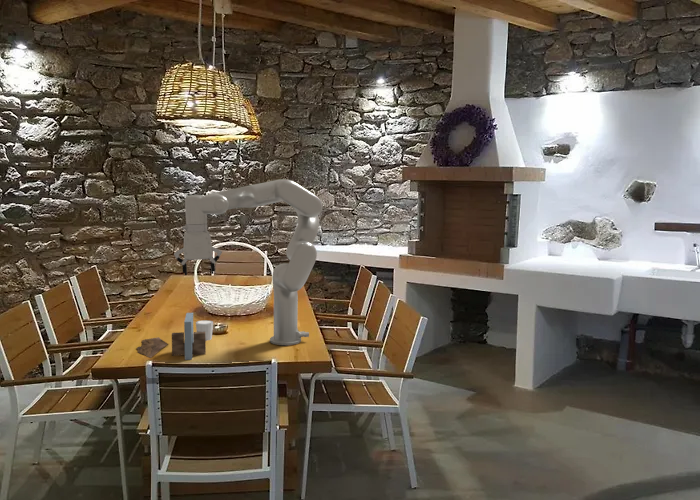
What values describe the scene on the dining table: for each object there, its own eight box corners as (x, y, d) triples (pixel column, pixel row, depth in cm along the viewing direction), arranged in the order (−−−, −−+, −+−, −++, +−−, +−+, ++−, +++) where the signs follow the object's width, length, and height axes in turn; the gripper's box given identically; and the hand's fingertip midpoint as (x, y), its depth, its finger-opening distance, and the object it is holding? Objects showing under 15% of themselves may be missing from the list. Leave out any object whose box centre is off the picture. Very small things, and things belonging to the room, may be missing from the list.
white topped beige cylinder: (196, 341, 245) (196, 324, 244) (195, 337, 251) (195, 320, 250) (213, 340, 247) (213, 323, 246) (212, 336, 253) (212, 319, 252)
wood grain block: (205, 352, 231) (205, 331, 230) (205, 354, 228) (205, 333, 227) (172, 353, 228) (172, 332, 227) (172, 355, 226) (171, 334, 225)
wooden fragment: (143, 339, 248) (143, 336, 247) (171, 338, 249) (171, 336, 249) (131, 359, 222) (131, 356, 222) (162, 358, 224) (162, 355, 224)
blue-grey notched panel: (191, 359, 222) (191, 321, 220) (184, 359, 222) (184, 322, 220) (193, 348, 236) (193, 312, 234) (187, 348, 235) (186, 312, 233)
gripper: (172, 230, 222) (174, 277, 224) (220, 228, 225) (222, 274, 228) (173, 228, 229) (175, 273, 231) (220, 226, 233) (222, 271, 235)
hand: (199, 274), depth 230 cm, fingers open, 9 cm apart
